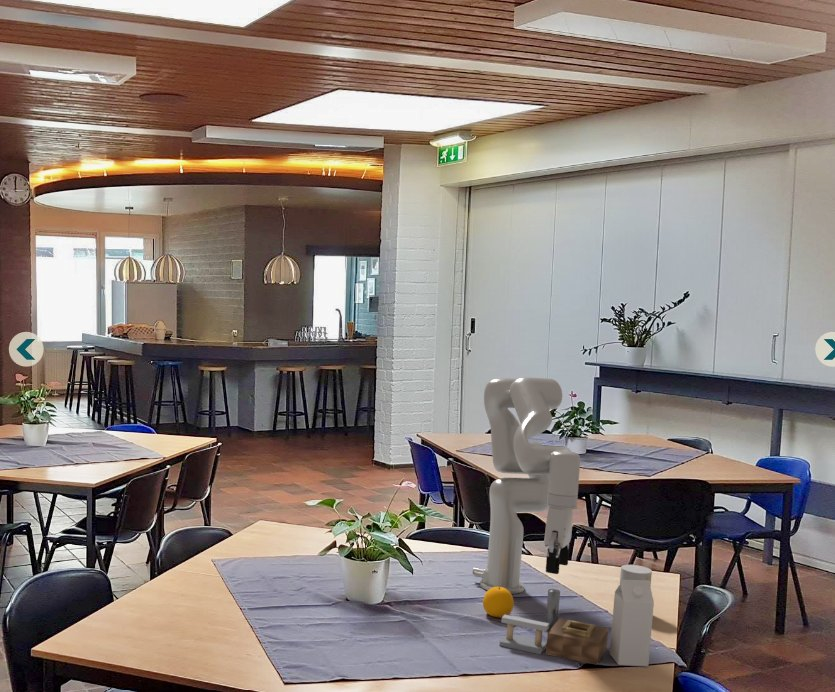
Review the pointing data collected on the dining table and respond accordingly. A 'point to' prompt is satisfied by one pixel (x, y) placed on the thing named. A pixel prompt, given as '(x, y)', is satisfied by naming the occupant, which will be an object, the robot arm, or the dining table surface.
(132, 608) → the dining table surface
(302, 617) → the dining table surface
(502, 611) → the orange fruit
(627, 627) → the milk carton
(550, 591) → the pin
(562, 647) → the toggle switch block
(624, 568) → the light grey cylinder
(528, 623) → the peg rack
